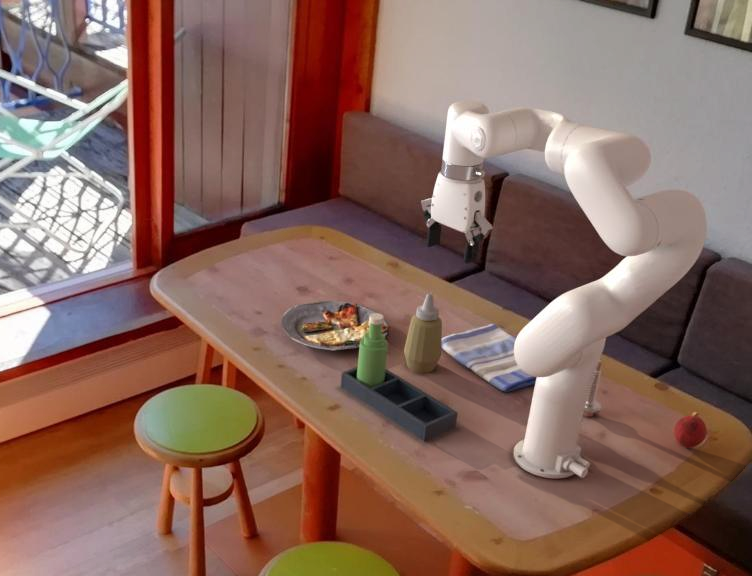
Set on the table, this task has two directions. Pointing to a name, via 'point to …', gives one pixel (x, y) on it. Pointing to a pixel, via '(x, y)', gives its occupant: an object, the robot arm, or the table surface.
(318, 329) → the food plate
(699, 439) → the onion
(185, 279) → the table surface
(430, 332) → the squeeze bottle
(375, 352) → the bottle
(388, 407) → the tray
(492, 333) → the dish towel
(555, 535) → the table surface
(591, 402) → the screw
